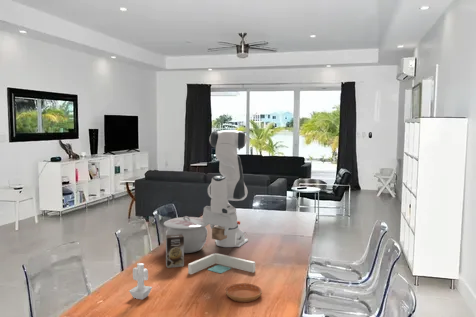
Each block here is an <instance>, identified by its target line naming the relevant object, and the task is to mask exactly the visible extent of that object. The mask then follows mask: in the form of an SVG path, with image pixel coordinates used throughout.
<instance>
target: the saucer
mask: <svg viewBox="0 0 476 317" xmlns="http://www.w3.org/2000/svg"><path fill="white" fill-rule="evenodd" d="M262 293H263V289H262V288H261V287H259V285H256V284H253V283H235V284H231V285H229V286H228V287H226V288H225V294H226V296H227V297H228V298H229V299H231V300H232V301H234V302H238V303H239V302H240V303H248V302H249V303H250V302H253V301H256V300H257V299H258V298H260V296H262Z"/></svg>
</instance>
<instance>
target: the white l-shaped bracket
mask: <svg viewBox="0 0 476 317" xmlns="http://www.w3.org/2000/svg"><path fill="white" fill-rule="evenodd" d="M187 265H188V266H187V268H188V270H187V274H188V275H193V274H196V273H198V272H200V271H202V270H205V269H207V268H210V266H215V265H222V266H226V267H230V268H233V269H238V270H242V271H245V272H249V273H252V274H253V273H255V272H256V261H253V260H247V259H244V258H239V257H236V256H231V255H226V254H222V253H219V252H214V253H211V254H209V255H206V256H204V257H202V258H200V259H196V260H194V261H192V262H190V263H188V264H187Z"/></svg>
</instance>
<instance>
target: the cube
mask: <svg viewBox="0 0 476 317" xmlns="http://www.w3.org/2000/svg"><path fill="white" fill-rule="evenodd" d="M224 231H225V229H224V227H221V226H214V228H212V229H211V239H212V240H220V241H221V240H223V239H226V238H227V235H223V232H224Z"/></svg>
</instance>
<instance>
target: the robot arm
mask: <svg viewBox="0 0 476 317" xmlns="http://www.w3.org/2000/svg"><path fill="white" fill-rule="evenodd" d="M209 144H210V146H211V147H212V148H215V157H216V160H218V162H219V166H218V167H219V168H218V170H219V173H220V175H215V176H212V178H211V182H210V184H208V186H207V195H208V197H209V198H210V205H206V206H204V207H203V213H202V218H203V223H206V224H209V226H210V229H211V230H212V228H214V227H217V226H221V227H224V229H225V231H224V232H223V235H227V238H226V239H223V240H221V241H220V240H215V239H214V240H215V241H214V242H215V245H216V246H217V247H223V248H234V247H235V248H236V247H237V248H239V247H240V248H241V247H242V246H243V245H244V244H246V243H248V242H249V238H246V237H245V236H246V235H245V232H244V230H242V229H241V228H240V227H239V225H241V221H239V220H238V215H237V208H236V207H235V206H233V205H232V204H230V203H229V201H232V202H233V201H235V202H238V201H244V200H245V199H246V198H247V197H248V193H249V192H248V188H247V186H246V183H245V181H244V180H245V179H244V171H243V165H242V164H243V163H242V159H241V157H240V155H238V151H240V150H241V149H243V148H244V147H246V144H247V135H246V132H245V131H241V130H231V129H229V130H213V131H212V132H211V133H210V136H209Z"/></svg>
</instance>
